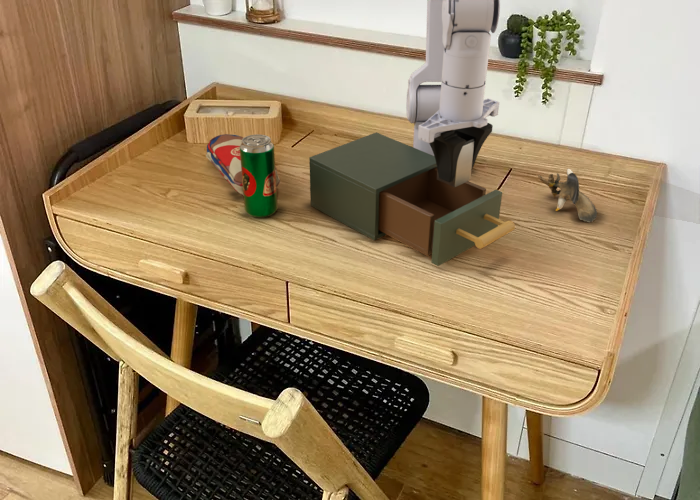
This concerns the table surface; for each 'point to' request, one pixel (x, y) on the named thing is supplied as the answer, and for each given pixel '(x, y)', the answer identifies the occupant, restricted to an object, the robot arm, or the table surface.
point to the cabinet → (362, 178)
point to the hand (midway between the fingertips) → (454, 175)
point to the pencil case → (229, 159)
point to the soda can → (258, 175)
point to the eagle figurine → (571, 195)
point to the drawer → (441, 216)
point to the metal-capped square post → (462, 161)
